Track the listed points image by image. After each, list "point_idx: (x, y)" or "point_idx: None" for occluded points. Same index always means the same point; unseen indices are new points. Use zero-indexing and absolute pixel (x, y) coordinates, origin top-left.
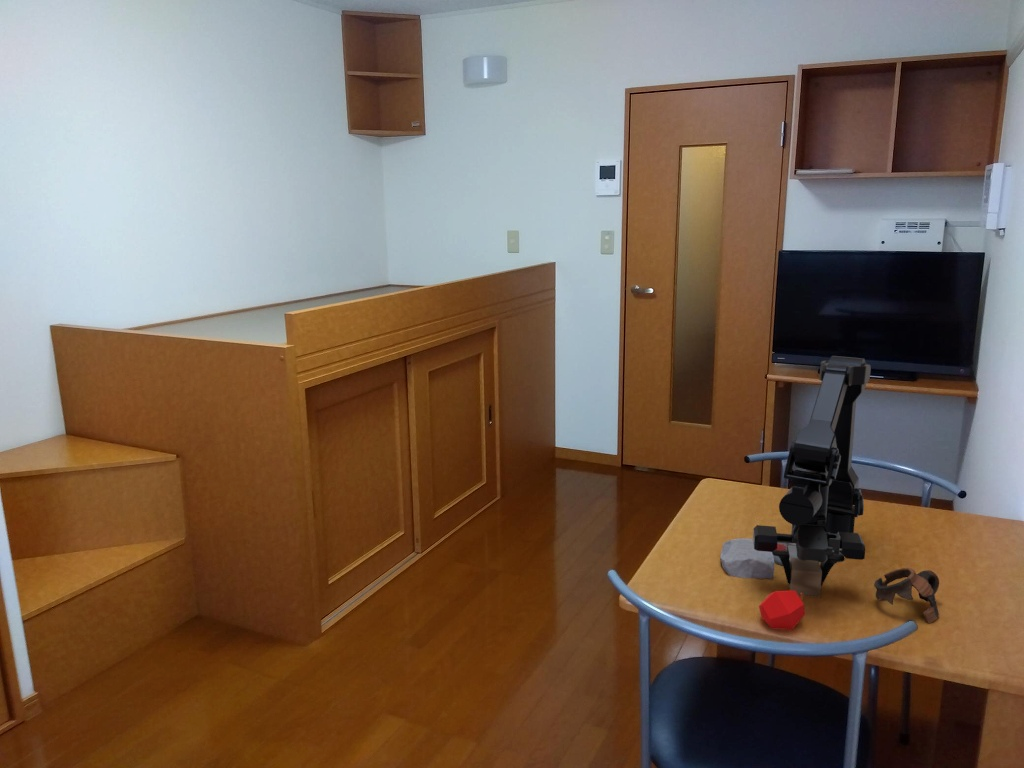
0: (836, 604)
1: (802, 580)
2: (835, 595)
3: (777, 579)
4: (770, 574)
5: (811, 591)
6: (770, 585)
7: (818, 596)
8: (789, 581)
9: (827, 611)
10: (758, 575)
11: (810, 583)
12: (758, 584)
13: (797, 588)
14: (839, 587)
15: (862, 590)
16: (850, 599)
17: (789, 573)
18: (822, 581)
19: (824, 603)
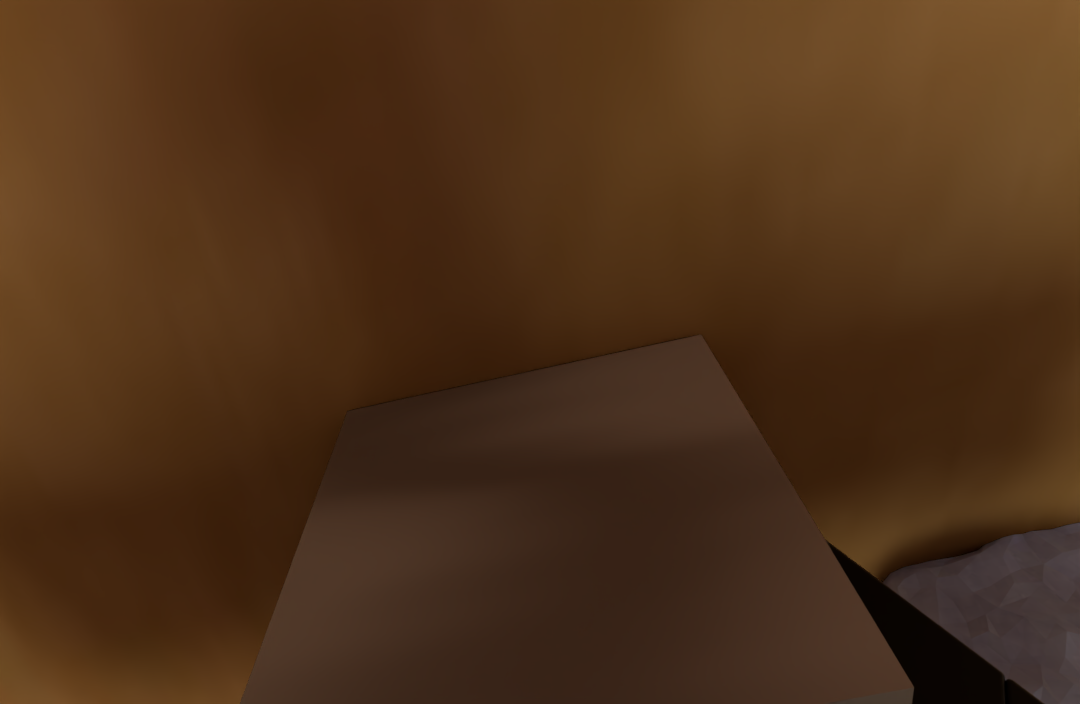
0: (103, 333)
1: (601, 525)
2: (206, 524)
3: None
4: (944, 606)
5: (446, 434)
6: (930, 446)
7: (362, 416)
8: None
9: (119, 58)
10: (1064, 557)
11: (461, 521)
12: (1072, 414)
13: (644, 408)
14: (232, 665)
15: (21, 694)
16: (23, 510)
17: None
18: None
19: (250, 294)
